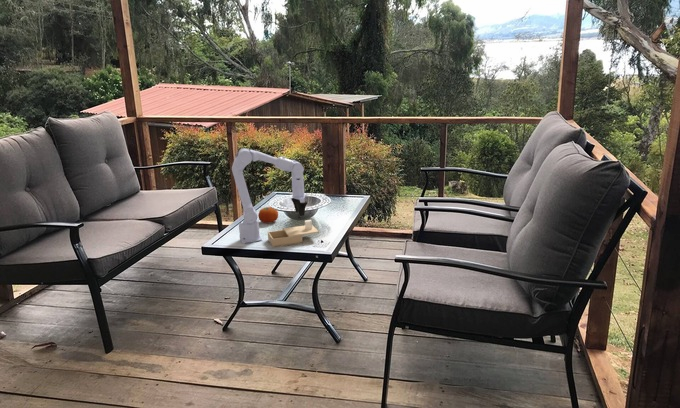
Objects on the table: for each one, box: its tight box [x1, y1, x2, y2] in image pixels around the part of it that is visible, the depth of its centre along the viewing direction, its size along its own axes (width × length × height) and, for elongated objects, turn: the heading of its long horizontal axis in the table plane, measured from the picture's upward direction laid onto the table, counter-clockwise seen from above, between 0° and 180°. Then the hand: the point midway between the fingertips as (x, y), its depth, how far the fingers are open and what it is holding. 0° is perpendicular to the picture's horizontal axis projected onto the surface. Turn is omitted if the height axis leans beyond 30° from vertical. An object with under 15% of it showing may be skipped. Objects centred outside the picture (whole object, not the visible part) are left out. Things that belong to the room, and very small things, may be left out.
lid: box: [282, 219, 320, 237], centre depth 243 cm, size 14×12×5 cm
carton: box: [267, 229, 303, 248], centre depth 242 cm, size 14×12×4 cm
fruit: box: [257, 206, 279, 224], centre depth 274 cm, size 11×10×8 cm
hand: (299, 213), depth 250 cm, fingers open, 7 cm apart
